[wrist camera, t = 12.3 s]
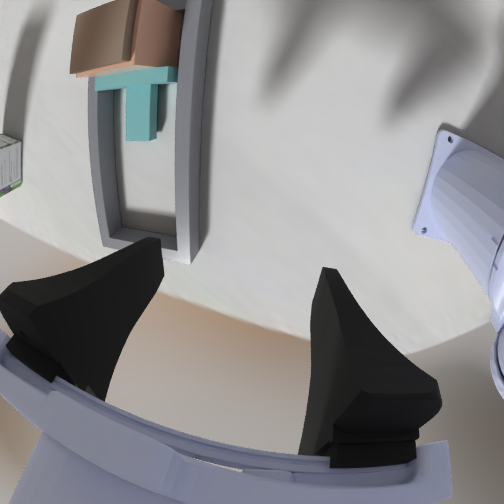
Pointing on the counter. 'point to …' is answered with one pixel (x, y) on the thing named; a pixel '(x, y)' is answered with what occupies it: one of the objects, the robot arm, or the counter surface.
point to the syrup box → (9, 164)
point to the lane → (186, 144)
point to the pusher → (139, 97)
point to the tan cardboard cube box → (125, 38)
